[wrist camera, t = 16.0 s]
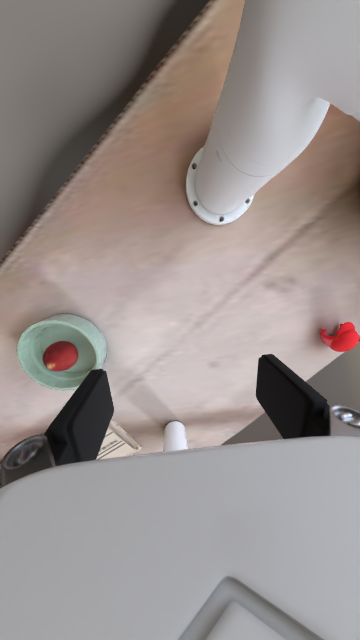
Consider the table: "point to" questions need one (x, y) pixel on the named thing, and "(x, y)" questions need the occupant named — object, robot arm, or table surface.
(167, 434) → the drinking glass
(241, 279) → the table surface
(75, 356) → the onion
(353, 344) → the red toy figurine
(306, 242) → the table surface
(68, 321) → the bowl
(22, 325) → the table surface
